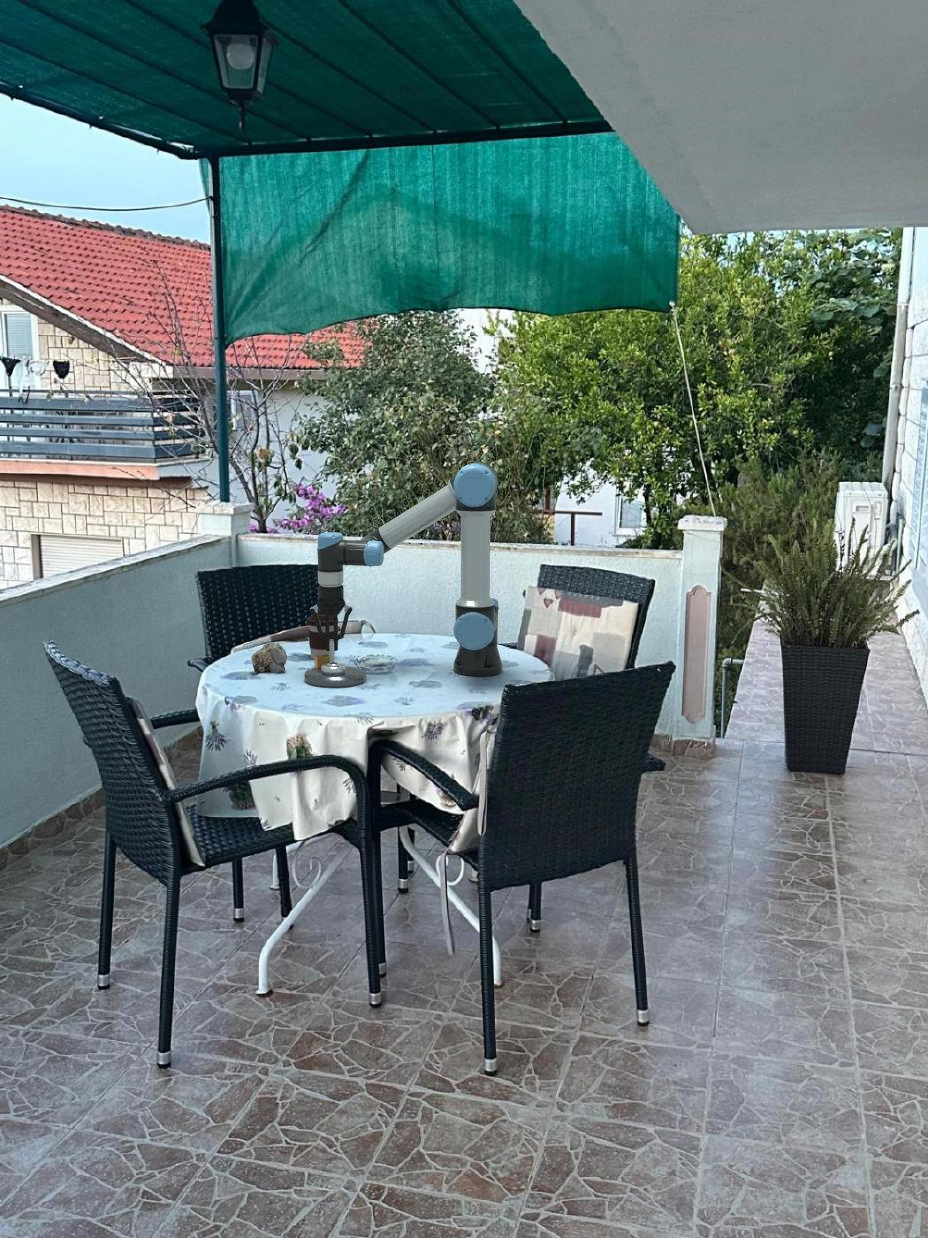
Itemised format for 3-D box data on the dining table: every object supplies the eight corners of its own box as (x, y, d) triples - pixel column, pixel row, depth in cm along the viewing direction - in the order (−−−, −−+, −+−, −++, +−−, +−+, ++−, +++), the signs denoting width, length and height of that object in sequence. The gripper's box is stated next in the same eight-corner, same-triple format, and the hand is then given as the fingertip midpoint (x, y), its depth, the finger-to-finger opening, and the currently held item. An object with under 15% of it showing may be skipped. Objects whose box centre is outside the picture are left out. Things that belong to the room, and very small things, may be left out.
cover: (339, 669, 346) (339, 659, 345) (349, 675, 340) (349, 664, 339) (317, 672, 343) (317, 662, 342) (327, 677, 337) (327, 667, 336)
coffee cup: (332, 664, 364) (332, 617, 361) (302, 662, 366) (302, 615, 363) (342, 657, 374) (342, 611, 371) (312, 655, 375) (312, 609, 372)
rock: (268, 677, 358) (246, 654, 355) (297, 654, 356) (275, 631, 353) (267, 688, 349) (244, 664, 346) (296, 665, 348) (274, 641, 345)
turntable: (348, 668, 356) (348, 652, 355) (375, 684, 338) (375, 667, 337) (292, 674, 348) (292, 657, 347) (317, 690, 330) (317, 673, 329)
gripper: (352, 582, 350) (353, 657, 356) (309, 582, 349) (310, 658, 354) (352, 586, 343) (353, 664, 348) (308, 587, 342) (310, 664, 347)
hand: (332, 661), depth 351 cm, fingers closed
